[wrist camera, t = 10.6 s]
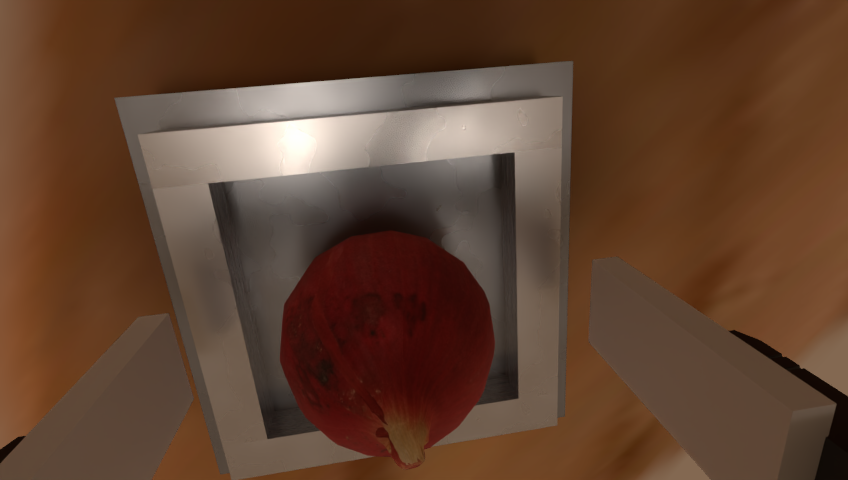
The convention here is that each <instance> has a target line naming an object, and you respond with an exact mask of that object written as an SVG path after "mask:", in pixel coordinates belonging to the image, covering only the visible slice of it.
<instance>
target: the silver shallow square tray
mask: <svg viewBox="0 0 848 480" xmlns="http://www.w3.org/2000/svg"><path fill="white" fill-rule="evenodd" d="M572 87H573V61H566V62H553V63H541V64H529V65H516V66H504V67H491V68H479V69H467V70H454V71H442V72H430V73H417V74H405V75H393V76H380V77H368V78H355V79H343V80H331V81H318V82H306V83H294V84H281V85H269V86H257V87H244V88H232V89H219V90H207V91H195V92H182V93H170V94H158V95H145V96H133V97H121V98H115V101H116V105H117V109H118V112H119V116H120V119H121V123H122V126H123V130H124V133H125V137H126V140H127V144H128V148H129V151H130V155H131V158H132V162H133V165H134V169H135V172H136V176H137V180H138V183H139V187H140V190H141V194H142V197H143V201H144V204H145V208H146V212H147V215H148V219H149V222H150V226H151V229H152V233H153V236H154V240H155V244H156V247H157V251H158V254H159V258H160V261H161V265H162V268H163V272H164V276H165V279H166V283H167V286H168V290H169V293H170V297H171V300H172V304H173V308H174V311H175V315H176V318H177V322H178V325H179V329H180V332H181V336H182V339H183V343H184V347H185V350H186V354H187V357H188V361H189V364H190V368H191V371H192V375H193V379H194V382H195V386H196V389H197V393H198V396H199V400H200V403H201V407H202V411H203V414H204V418H205V421H206V425H207V428H208V432H209V435H210V439H211V443H212V446H213V450H214V453H215V457H216V460H217V464H218V467H219V471H220V474H225V473H230V475H231V479H232V480H239V479H244V478H250V477H256V476H262V475H268V474H274V473H280V472H286V471H291V470H297V469H303V468H309V467H315V466H321V465H327V464H333V463H338V462H344V461H350V460H356V459H362V458H368V457H374V456H368V455H365V454H362V453H359V452H356V451H353V450H350V449H348V448H345V447H342V446H339V445H337V444H336V443H334V442H333V441H332V440H330V439H329V438H328V437H327V436H326V435H325V434H323V433H322V432H321V431H320V430H319V429H318V428H317V427H316V426H315V425H314V424H312V423H311V422H310V421H309V420H308V419H307V418H306V417H305V415H304V414H303V412H302V411H301V409H300V408H299V406H298V404H297V402H296V400H295V397H294V395H293V393H292V390H291V388H290V386H289V384H288V381H287V379H286V377H285V374H284V372H283V369H282V366H281V363H280V346H281V332H282V319H283V310H284V304H285V302H286V300H287V299H288V297H289V296H290V294H291V293H292V291H293V290H294V288H295V287H296V285H297V284H298V282H299V280H300V279H301V277H302V276H303V274H304V273H305V271H306V270H307V268H308V267H309V265H310V264H311V263H312V261H313V260H314V258H315V257H317V256H318V255H320V254H322V253H323V252H325V251H327V250H329V249H330V248H332V247H334V246H336V245H337V244H339V243H341V242H343V241H344V240H346V239H348V238H349V237H351V236H357V235H363V234H370V233H376V232H383V231H389V230H392V231H397V232H402V233H407V234H411V235H416V236H421V237H425V238H428V239H429V240H431V241H432V242H434V243H435V244H437V245H438V246H440V247H441V248H443V249H444V250H446V251H447V252H449V253H450V254H452V255H453V256H455V257H456V258H458V259H460V260H461V261H463V262H464V263H465V265H466V266H467V268H468V269H469V271H470V272H471V273H472V275H473V276H474V278H475V279H476V280H477V282H478V283H479V285H480V286H481V287H482V289H483V290H484V292H485V294H486V297H487V299H488V302H489V304H490V311H491V318H492V324H493V331H494V338H495V349H494V356H493V360H492V364H491V367H490V371H489V374H488V378H487V382H486V385H485V389H484V392H483V394H482V395H481V397H480V399H479V401H478V402H477V404H476V405H475V406H474V407H473V409H472V410H471V411H470V413H469V414H468V415H467V416H466V418H465V419H464V420H463V422H462V423H461V424H460V425H459V426H458V427H457V428H456V429H455V430H454V431H452V432H451V433H449V434H448V435H447V436H445V437H444V438H443V439H441V440H440V441H438V442H437V443H436V444H434V445H433V446H438V445H444V444H450V443H456V442H462V441H468V440H474V439H479V438H485V437H491V436H497V435H503V434H509V433H515V432H521V431H526V430H532V429H538V428H544V427H550V426H556V425H557V418H558V417H564V416H565V387H566V344H567V301H568V259H569V216H570V173H571V130H572Z"/></svg>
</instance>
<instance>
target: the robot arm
mask: <svg viewBox="0 0 848 480" xmlns="http://www.w3.org/2000/svg"><path fill="white" fill-rule="evenodd" d="M589 343H590V344H591V345H592V346H593V347H594V348H595V350H596V351H597V352H598V353H599V354H600V355H601V356H602V358H603V359H604V360H605V361H606V362H607V363H608V364H609V365H610V367H611V368H612V369H613V370H614V371H615V372H616V373H617V374H618V376H619V377H620V378H621V379H622V380H623V381H624V382H625V383H626V385H627V386H628V387H629V388H630V389H631V390H632V391H633V392H634V394H635V395H636V396H637V397H638V398H639V399H640V400H641V401H642V403H643V404H644V405H645V406H646V407H647V408H648V409H649V410H650V412H651V413H652V414H653V415H654V416H655V417H656V418H657V419H658V421H659V422H660V423H661V424H662V425H663V426H664V427H665V428H666V430H667V431H668V432H669V433H670V434H671V435H672V436H673V437H674V439H675V440H676V441H677V442H678V443H679V444H680V445H681V446H682V448H683V449H684V450H685V451H686V452H687V453H688V454H689V455H690V457H691V458H692V459H693V460H694V461H695V462H696V463H697V465H698V466H699V467H700V468H701V469H702V470H703V471H704V472H705V474H706V475H707V476H708V477H709V478H710V479H711V480H848V396H846V395H845V394H843V393H842V392H840V391H838V390H837V389H835V388H834V387H832V386H830V385H829V384H828V383H826V382H824V381H823V380H821V379H820V378H818V377H817V376H815V375H814V374H812V373H810V372H809V371H807V370H806V369H801V368H800V366H799V365H798V364H796V363H795V362H793V361H792V360H790V359H789V358H787V357H782V354H781V353H779V352H778V351H776V350H775V349H773V348H771V347H770V346H768V345H767V344H765V343H764V342H762V341H760V340H758V339H755V338H753V337H750V336H748V335H745V334H743V333H740V332H738V331H735V330H732V331H727V330H726V329H724V328H723V327H721V326H720V325H718V324H717V323H715V322H714V321H713V320H711V319H710V318H708V317H707V316H705V315H704V314H702V313H701V312H699V311H698V310H696V309H695V308H693V307H692V306H690V305H689V304H687V303H686V302H684V301H683V300H681V299H680V298H678V297H677V296H675V295H674V294H672V293H671V292H669V291H668V290H666V289H665V288H663V287H662V286H660V285H659V284H657V283H656V282H654V281H653V280H651V279H650V278H648V277H647V276H645V275H644V274H642V273H641V272H639V271H638V270H636V269H635V268H634V267H632V266H631V265H629V264H628V263H626V262H625V261H623V260H622V259H620V258H619V257H610V258H602V259H594V260H592V279H591V301H590V323H589ZM193 400H194V398H193V394H192V391H191V388H190V384H189V381H188V377H187V374H186V370H185V367H184V363H183V360H182V357H181V353H180V350H179V346H178V343H177V339H176V336H175V333H174V329H173V326H172V322H171V319H170V315H169V313H166V314H158V315H150V316H142V317H138V318H137V319H136V320H135V321H134V322H133V323H132V325H131V326H130V327H129V328H128V329H127V330H126V331H125V332H124V333H123V334H122V335H121V336H120V337H119V338H118V339H117V340H116V341H115V343H114V344H113V345H112V346H111V347H110V348H109V349H108V350H107V351H106V352H105V353H104V354H103V355H102V356H101V357H100V358H99V359H98V361H97V362H96V363H95V364H94V365H93V366H92V367H91V368H90V369H89V370H88V371H87V372H86V373H85V374H84V375H83V376H82V377H81V378H80V380H79V381H78V382H77V383H76V384H75V385H74V386H73V387H72V388H71V389H70V390H69V391H68V392H67V393H66V394H65V395H64V396H63V398H62V399H61V400H60V401H59V402H58V403H57V404H56V405H55V406H54V407H53V408H52V409H51V410H50V411H49V412H48V413H47V414H46V416H45V417H44V418H43V419H42V420H41V421H40V422H39V423H38V424H37V425H36V426H35V427H34V428H33V429H32V430H31V431H30V432H29V434H28V435H27V436H22V437H17V438H16V439H15V440H13V441H12V442H10V443H9V444H7V445H6V446H5V447H3V448H2V449H0V480H152V478H153V476H154V474H155V472H156V470H157V468H158V466H159V464H160V462H161V461H162V459H163V457H164V455H165V453H166V451H167V449H168V447H169V445H170V443H171V441H172V440H173V438H174V436H175V434H176V432H177V430H178V428H179V426H180V424H181V422H182V421H183V419H184V417H185V415H186V413H187V411H188V409H189V407H190V405H191V403H192V401H193Z"/></svg>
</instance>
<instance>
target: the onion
mask: <svg viewBox="0 0 848 480" xmlns="http://www.w3.org/2000/svg"><path fill="white" fill-rule="evenodd" d="M494 349H495V338H494V331H493V324H492V318H491V311H490V304H489V302H488V299H487V297H486V294H485V292H484V290H483V289H482V287H481V286H480V285H479V283H478V282H477V280H476V279H475V278H474V276H473V275H472V273H471V272H470V271H469V269H468V268H467V266H466V265H465V263H464V262H463V261H461V260H460V259H458V258H456V257H455V256H453V255H452V254H450V253H449V252H447V251H446V250H444V249H443V248H441V247H440V246H438V245H437V244H435V243H434V242H432V241H431V240H429V239H428V238H425V237H421V236H416V235H411V234H407V233H402V232H397V231H392V230H389V231H383V232H376V233H370V234H363V235H357V236H351V237H349V238H348V239H346V240H344V241H343V242H341V243H339V244H337V245H336V246H334V247H332V248H330V249H329V250H327V251H325V252H323V253H322V254H320V255H318V256H317V257H315V258H314V260H313V261H312V263H311V264H310V265H309V267H308V268H307V270H306V271H305V273H304V274H303V276H302V277H301V279H300V280H299V282H298V284H297V285H296V287H295V288H294V290H293V291H292V293H291V294H290V296H289V297H288V299H287V300H286V302H285V304H284V310H283V319H282V332H281V346H280V363H281V366H282V369H283V372H284V374H285V377H286V379H287V381H288V384H289V386H290V388H291V390H292V393H293V395H294V397H295V400H296V402H297V404H298V406H299V408H300V409H301V411H302V412H303V414H304V415H305V417H306V418H307V419H308V420H309V421H310V422H311V423H312V424H314V425H315V426H316V427H317V428H318V429H319V430H320V431H321V432H322V433H323V434H325V435H326V436H327V437H328V438H329V439H330V440H332V441H333V442H334V443H336V444H337V445H339V446H342V447H345V448H348V449H350V450H353V451H356V452H359V453H362V454H365V455H368V456H383V457H392V458H393V459H394V461H395V463H396V464H397V465H398V466H400V467H401V468H402V469H403V470H406V469H411V468H415V467H418V466H419V465H420V464H422V463H423V462H424V460H425V453H424V449H427V448H430V447H432V446H433V445H434V444H436V443H437V442H438V441H440V440H441V439H443V438H444V437H445V436H447V435H448V434H449V433H451V432H452V431H454V430H455V429H456V428H457V427H458V426H459V425H460V424H461V423H462V422H463V420H464V419H465V418H466V416H467V415H468V414H469V413H470V411H471V410H472V409H473V407H474V406H475V405H476V404H477V402H478V401H479V399H480V397H481V395H482V394H483V392H484V389H485V385H486V382H487V378H488V374H489V371H490V367H491V364H492V360H493V356H494Z"/></svg>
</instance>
